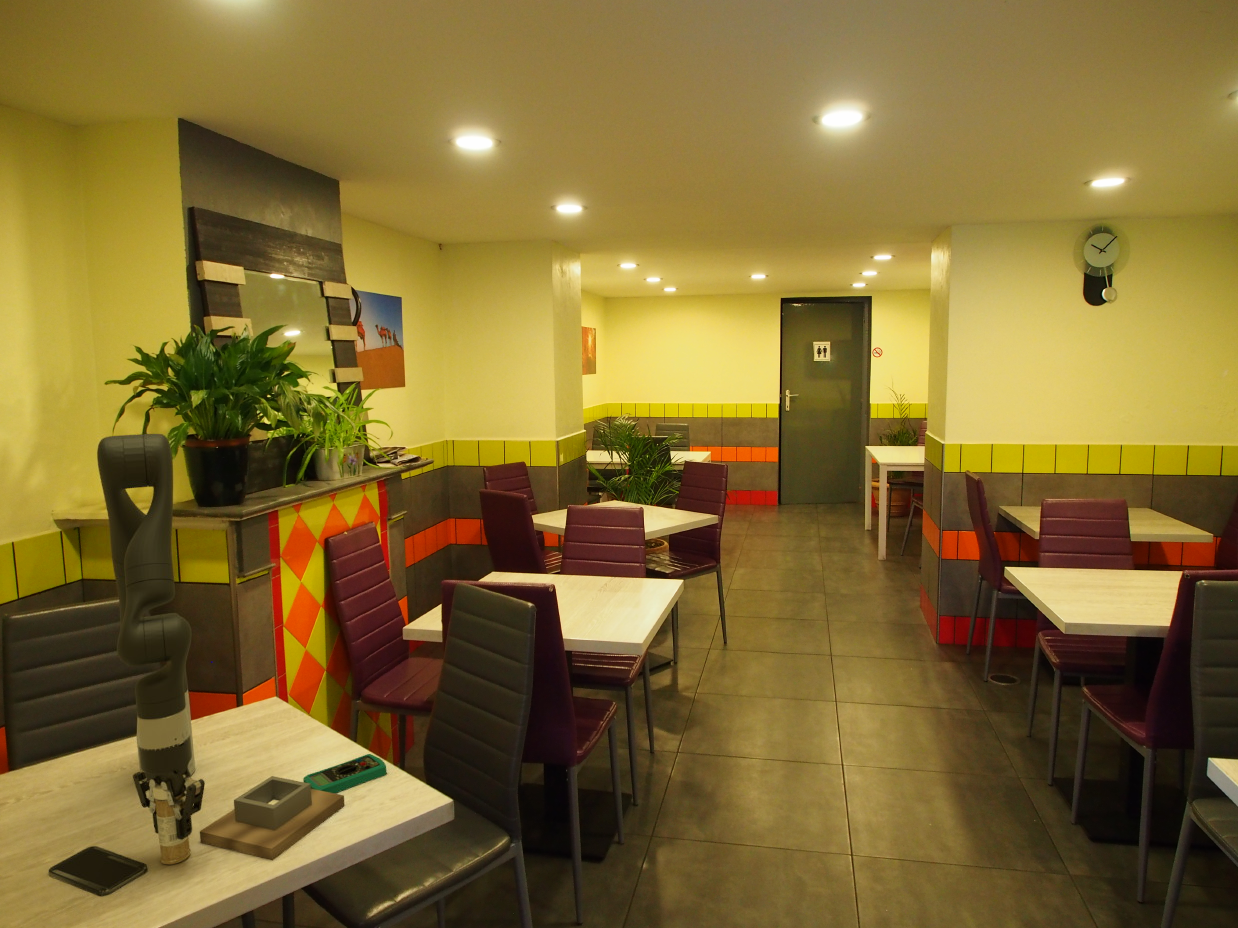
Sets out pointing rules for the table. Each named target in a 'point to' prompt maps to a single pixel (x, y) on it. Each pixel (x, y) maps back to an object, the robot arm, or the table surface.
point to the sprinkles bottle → (169, 830)
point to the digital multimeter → (347, 774)
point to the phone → (98, 870)
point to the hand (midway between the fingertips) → (173, 833)
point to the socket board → (267, 840)
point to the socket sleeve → (269, 816)
